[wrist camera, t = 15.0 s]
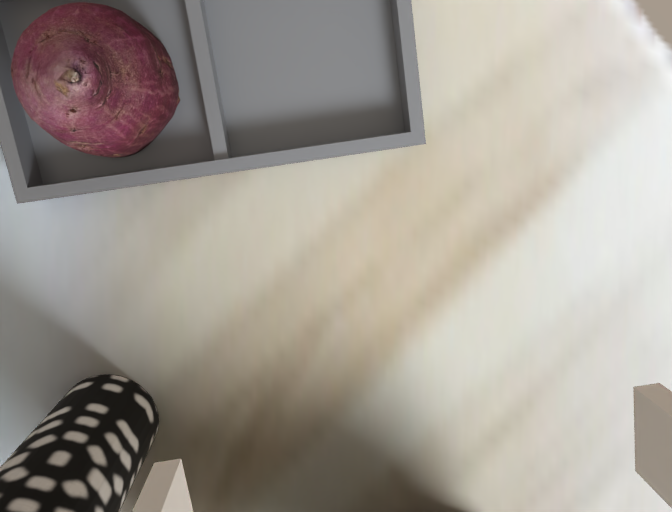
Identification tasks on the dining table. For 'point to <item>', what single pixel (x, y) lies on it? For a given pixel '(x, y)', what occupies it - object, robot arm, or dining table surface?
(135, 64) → the vegetable
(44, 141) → the grey compartment tray
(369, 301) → the dining table surface
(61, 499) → the white-spotted black cylinder
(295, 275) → the dining table surface
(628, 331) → the dining table surface
